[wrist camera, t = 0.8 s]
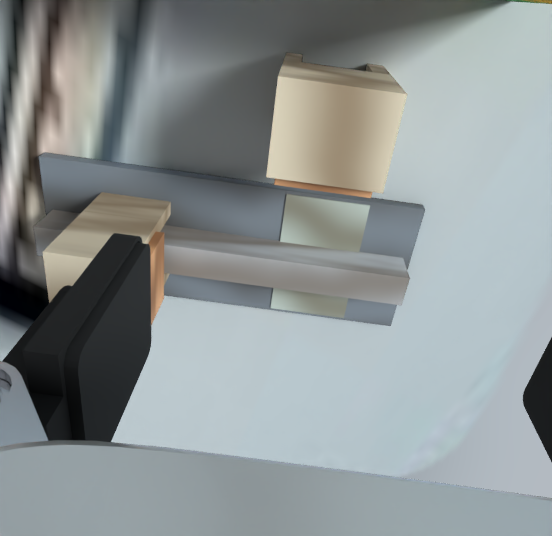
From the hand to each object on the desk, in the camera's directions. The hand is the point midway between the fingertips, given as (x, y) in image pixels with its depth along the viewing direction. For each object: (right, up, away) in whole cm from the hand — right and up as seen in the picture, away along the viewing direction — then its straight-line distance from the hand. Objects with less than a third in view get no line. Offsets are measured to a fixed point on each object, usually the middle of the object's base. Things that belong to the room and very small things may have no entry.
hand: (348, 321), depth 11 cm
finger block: (+1, +11, +17) cm, 21 cm away
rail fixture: (-5, +3, +22) cm, 23 cm away
